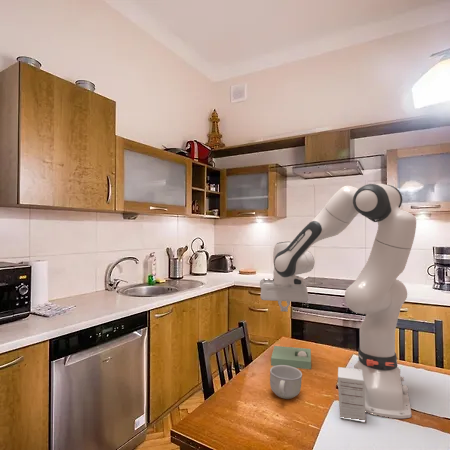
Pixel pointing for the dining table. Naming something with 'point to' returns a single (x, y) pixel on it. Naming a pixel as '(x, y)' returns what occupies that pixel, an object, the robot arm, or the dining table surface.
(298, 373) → the teacup
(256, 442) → the dining table surface
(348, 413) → the supplement box
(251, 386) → the dining table surface
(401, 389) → the robot arm
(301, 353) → the ball
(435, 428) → the dining table surface
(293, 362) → the putting deck
